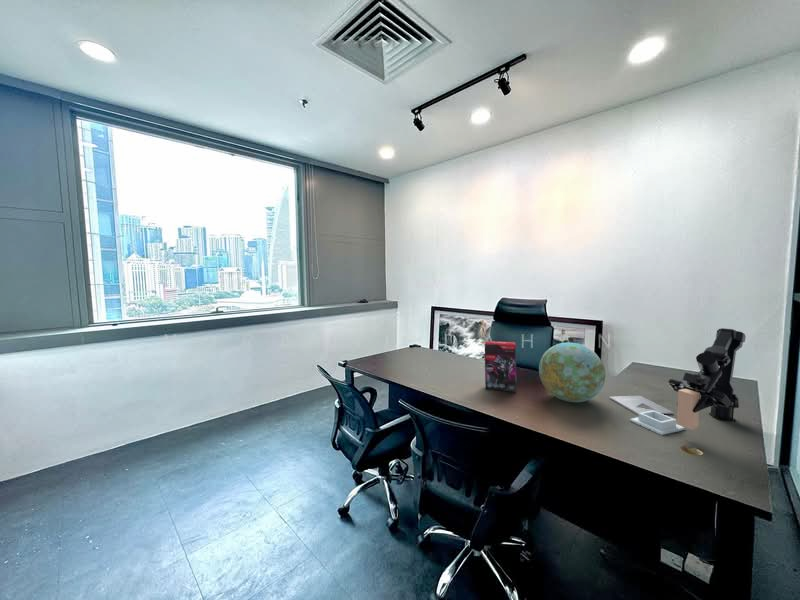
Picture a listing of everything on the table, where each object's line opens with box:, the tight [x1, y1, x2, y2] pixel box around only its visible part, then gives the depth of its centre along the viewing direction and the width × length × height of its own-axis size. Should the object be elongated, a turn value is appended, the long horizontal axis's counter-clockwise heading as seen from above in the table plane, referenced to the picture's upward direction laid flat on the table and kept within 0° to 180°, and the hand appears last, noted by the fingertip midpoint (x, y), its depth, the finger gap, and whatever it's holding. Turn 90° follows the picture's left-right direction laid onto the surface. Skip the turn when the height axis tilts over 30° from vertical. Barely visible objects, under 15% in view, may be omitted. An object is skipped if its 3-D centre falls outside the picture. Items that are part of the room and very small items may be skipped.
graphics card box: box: [484, 340, 517, 392], centre depth 183 cm, size 17×7×27 cm, turn 72°
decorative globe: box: [538, 341, 606, 403], centre depth 165 cm, size 30×30×30 cm
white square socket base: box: [629, 410, 686, 436], centre depth 137 cm, size 13×13×4 cm
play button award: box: [608, 395, 675, 416], centre depth 156 cm, size 16×2×20 cm
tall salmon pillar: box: [676, 389, 701, 431], centre depth 126 cm, size 4×5×14 cm
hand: (685, 409), depth 125 cm, fingers closed on tall salmon pillar, 5 cm apart
